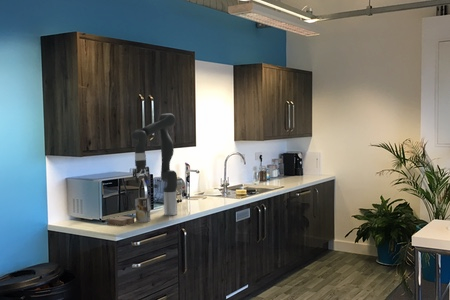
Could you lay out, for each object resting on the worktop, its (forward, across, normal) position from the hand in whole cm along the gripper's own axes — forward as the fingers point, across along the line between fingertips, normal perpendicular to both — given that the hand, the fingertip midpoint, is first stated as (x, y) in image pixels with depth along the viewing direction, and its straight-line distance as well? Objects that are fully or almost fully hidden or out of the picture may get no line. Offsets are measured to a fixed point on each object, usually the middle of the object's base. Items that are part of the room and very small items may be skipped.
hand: (141, 182), depth 343 cm
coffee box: (+28, 0, 0) cm, 28 cm away
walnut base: (+27, +13, -9) cm, 32 cm away
